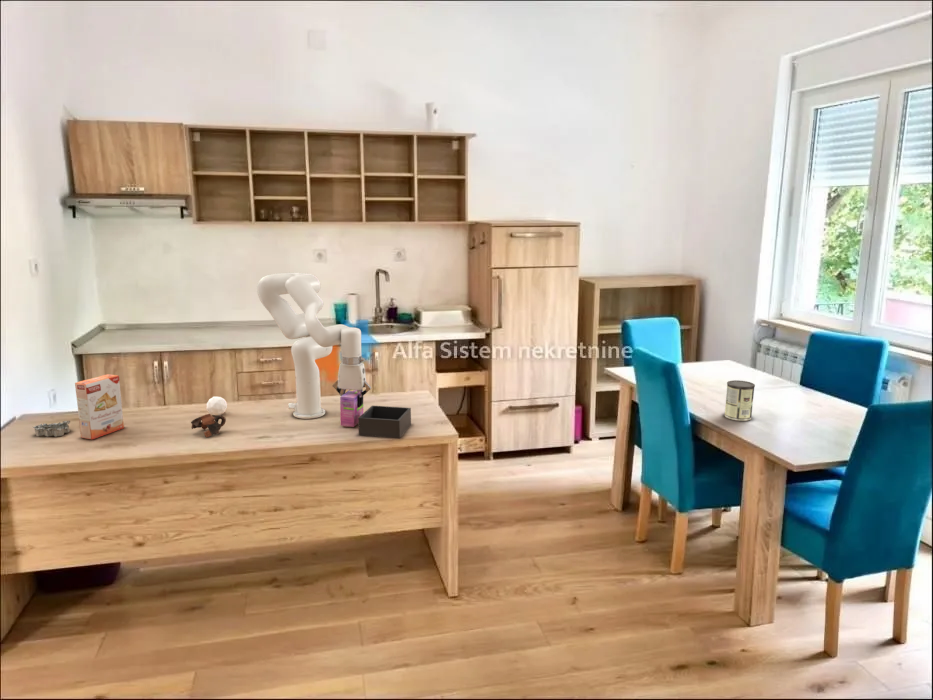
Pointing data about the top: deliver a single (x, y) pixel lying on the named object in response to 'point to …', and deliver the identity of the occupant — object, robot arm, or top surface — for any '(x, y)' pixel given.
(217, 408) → the ball
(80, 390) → the cracker box
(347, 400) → the box
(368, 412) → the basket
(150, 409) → the top surface
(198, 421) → the pottery mug
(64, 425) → the egg carton
